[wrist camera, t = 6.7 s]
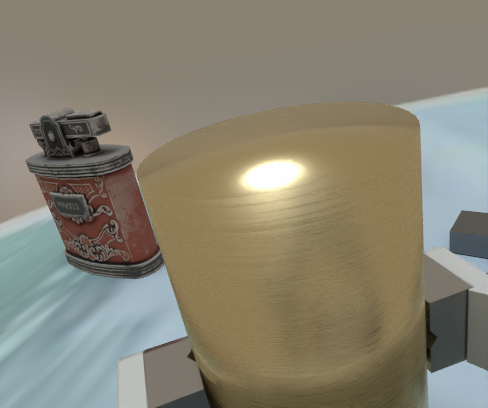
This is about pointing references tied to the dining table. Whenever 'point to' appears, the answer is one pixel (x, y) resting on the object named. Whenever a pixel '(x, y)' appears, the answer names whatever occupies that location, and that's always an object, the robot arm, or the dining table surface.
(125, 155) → the lighter
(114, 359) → the dining table surface
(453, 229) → the sprocket plate
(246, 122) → the pin
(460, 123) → the dining table surface
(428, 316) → the robot arm
